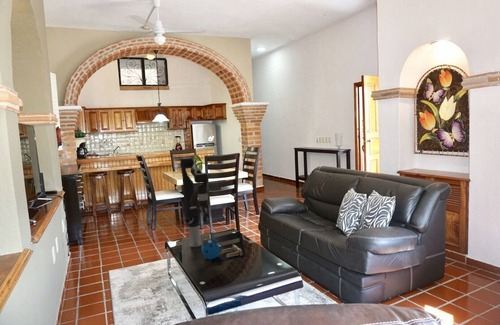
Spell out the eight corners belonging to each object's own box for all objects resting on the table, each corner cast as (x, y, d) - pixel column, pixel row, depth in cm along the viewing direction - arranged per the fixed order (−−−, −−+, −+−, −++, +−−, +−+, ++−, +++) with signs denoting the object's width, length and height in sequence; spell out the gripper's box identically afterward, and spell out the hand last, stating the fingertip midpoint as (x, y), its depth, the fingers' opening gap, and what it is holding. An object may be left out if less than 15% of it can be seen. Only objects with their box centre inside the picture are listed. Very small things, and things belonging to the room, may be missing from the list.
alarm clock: (218, 255, 276) (217, 236, 275) (220, 258, 271) (219, 238, 269) (202, 258, 272) (200, 239, 271) (203, 261, 266) (201, 241, 265)
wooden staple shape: (220, 252, 283) (220, 247, 282) (234, 249, 288) (234, 244, 287) (227, 258, 268) (227, 253, 268) (242, 255, 273) (241, 250, 273)
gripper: (195, 198, 279) (197, 220, 281) (200, 201, 267) (202, 224, 269) (205, 197, 282) (207, 218, 284) (210, 199, 270) (212, 222, 272)
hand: (204, 221), depth 276 cm, fingers closed
